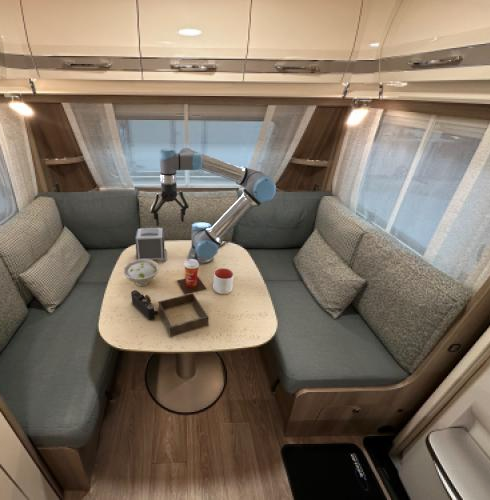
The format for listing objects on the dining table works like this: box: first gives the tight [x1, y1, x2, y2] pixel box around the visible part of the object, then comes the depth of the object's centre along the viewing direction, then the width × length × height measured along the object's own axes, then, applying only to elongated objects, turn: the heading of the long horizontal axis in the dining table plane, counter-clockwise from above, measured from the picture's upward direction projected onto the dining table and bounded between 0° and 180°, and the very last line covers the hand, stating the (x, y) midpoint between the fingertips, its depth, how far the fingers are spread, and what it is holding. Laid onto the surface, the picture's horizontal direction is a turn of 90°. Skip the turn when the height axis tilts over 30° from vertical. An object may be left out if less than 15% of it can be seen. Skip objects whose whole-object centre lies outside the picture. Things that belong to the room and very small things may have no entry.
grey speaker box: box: [134, 227, 167, 262], centre depth 165 cm, size 18×13×18 cm
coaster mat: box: [177, 275, 207, 295], centre depth 144 cm, size 12×12×1 cm
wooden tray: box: [157, 292, 209, 337], centre depth 121 cm, size 18×18×5 cm
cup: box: [212, 267, 235, 295], centre depth 138 cm, size 10×10×10 cm
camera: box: [130, 289, 159, 321], centre depth 125 cm, size 16×7×8 cm, turn 42°
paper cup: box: [183, 258, 200, 287], centre depth 140 cm, size 8×8×14 cm
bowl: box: [122, 259, 160, 287], centre depth 143 cm, size 19×19×10 cm
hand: (169, 223), depth 139 cm, fingers open, 13 cm apart
